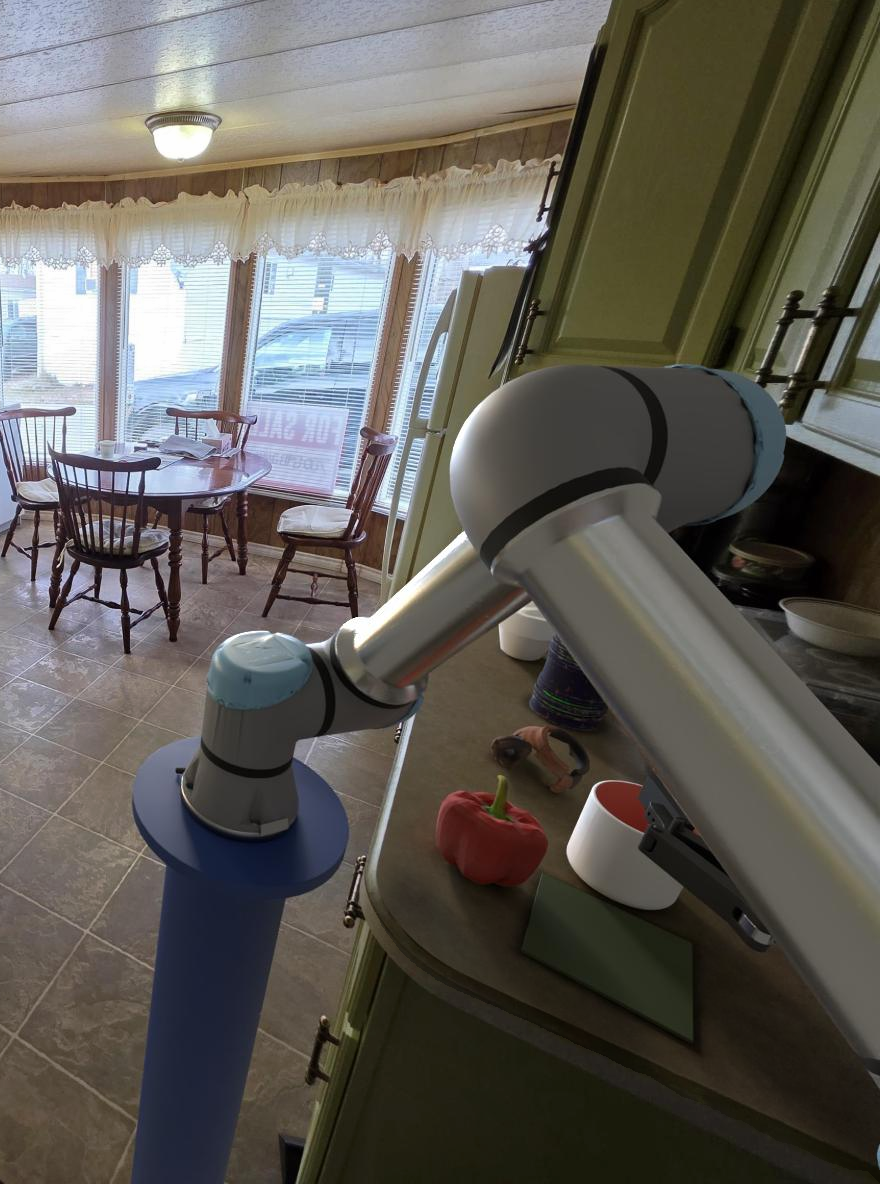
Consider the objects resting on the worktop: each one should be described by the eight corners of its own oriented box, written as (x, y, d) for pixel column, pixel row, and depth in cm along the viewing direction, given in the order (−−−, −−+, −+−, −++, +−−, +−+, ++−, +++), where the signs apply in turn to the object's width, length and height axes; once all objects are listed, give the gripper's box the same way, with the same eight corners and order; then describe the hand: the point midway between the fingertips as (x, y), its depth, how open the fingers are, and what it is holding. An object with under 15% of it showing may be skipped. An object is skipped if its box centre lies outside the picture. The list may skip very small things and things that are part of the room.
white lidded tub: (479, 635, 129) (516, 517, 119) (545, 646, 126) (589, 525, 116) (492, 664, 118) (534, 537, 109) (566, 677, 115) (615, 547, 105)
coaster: (520, 951, 64) (522, 949, 64) (541, 875, 73) (542, 872, 73) (691, 1044, 56) (693, 1041, 56) (690, 945, 65) (692, 943, 65)
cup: (594, 909, 69) (628, 839, 65) (546, 839, 78) (573, 774, 74) (695, 922, 68) (736, 852, 64) (634, 850, 77) (667, 785, 73)
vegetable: (433, 818, 81) (454, 754, 77) (529, 854, 76) (556, 788, 72) (422, 875, 73) (444, 807, 69) (529, 920, 67) (560, 849, 63)
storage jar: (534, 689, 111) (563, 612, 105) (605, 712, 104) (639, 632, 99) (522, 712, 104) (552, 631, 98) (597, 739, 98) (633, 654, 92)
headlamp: (528, 747, 96) (576, 722, 90) (557, 809, 90) (610, 787, 84) (462, 733, 93) (507, 707, 87) (487, 796, 87) (537, 772, 81)
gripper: (672, 1010, 43) (563, 804, 62) (1201, 1158, 36) (899, 875, 55) (718, 932, 40) (589, 740, 59) (1304, 1077, 33) (947, 807, 52)
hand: (738, 805), depth 57 cm, fingers open, 13 cm apart
